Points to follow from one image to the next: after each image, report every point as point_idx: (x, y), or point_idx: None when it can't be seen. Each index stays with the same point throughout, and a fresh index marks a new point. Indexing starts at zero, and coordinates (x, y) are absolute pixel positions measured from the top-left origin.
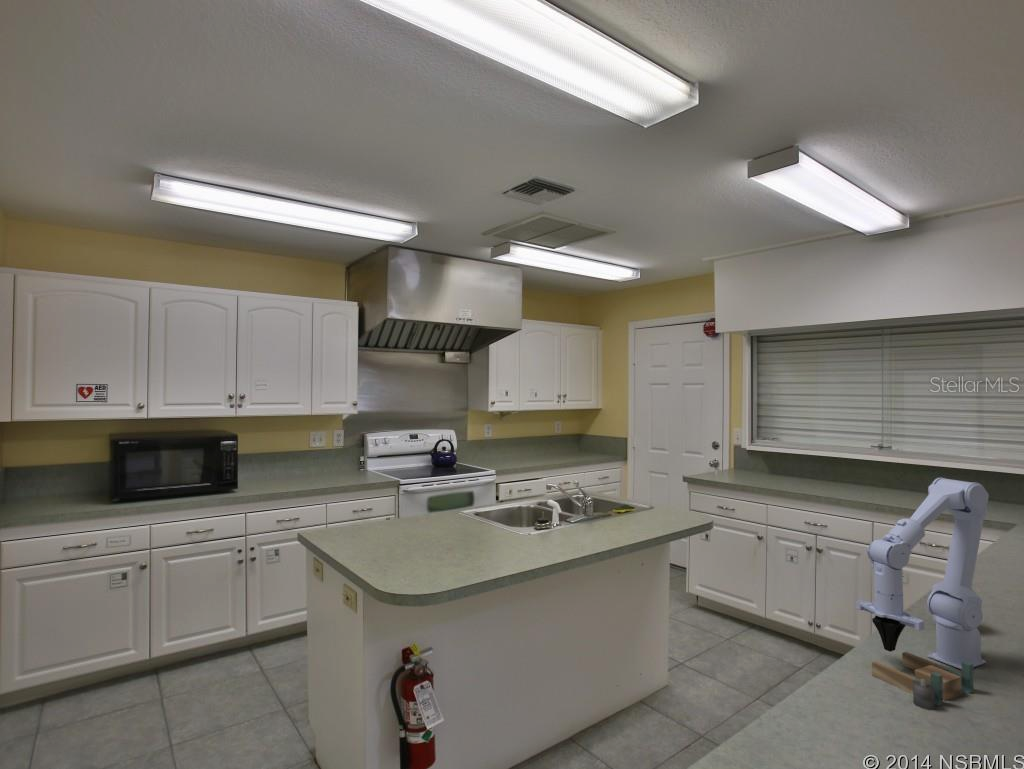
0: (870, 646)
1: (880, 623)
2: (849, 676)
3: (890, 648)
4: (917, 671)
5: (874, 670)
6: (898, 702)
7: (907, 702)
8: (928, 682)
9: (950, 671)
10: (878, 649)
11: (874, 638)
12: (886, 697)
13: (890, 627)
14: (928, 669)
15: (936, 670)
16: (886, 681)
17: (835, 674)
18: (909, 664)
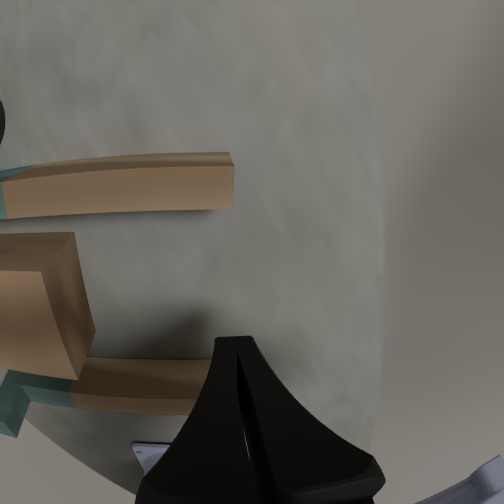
0: (365, 377)
1: (285, 483)
2: (280, 38)
3: (213, 352)
4: (29, 270)
5: (214, 158)
6: (24, 37)
7: (9, 75)
8: (4, 254)
9: (53, 392)
10: (340, 382)
11: (373, 415)
12: (66, 20)
13: (165, 485)
14: (39, 333)
15: (31, 350)
16: (149, 154)
17: (327, 4)
18: (199, 370)
